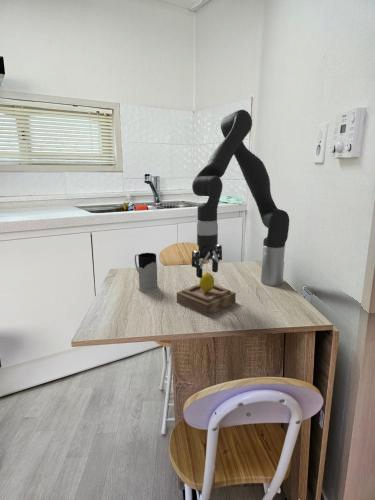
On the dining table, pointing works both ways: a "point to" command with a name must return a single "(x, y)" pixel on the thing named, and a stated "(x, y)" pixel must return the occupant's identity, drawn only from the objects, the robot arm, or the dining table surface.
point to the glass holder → (147, 272)
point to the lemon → (206, 282)
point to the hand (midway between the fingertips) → (207, 274)
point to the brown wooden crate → (206, 299)
